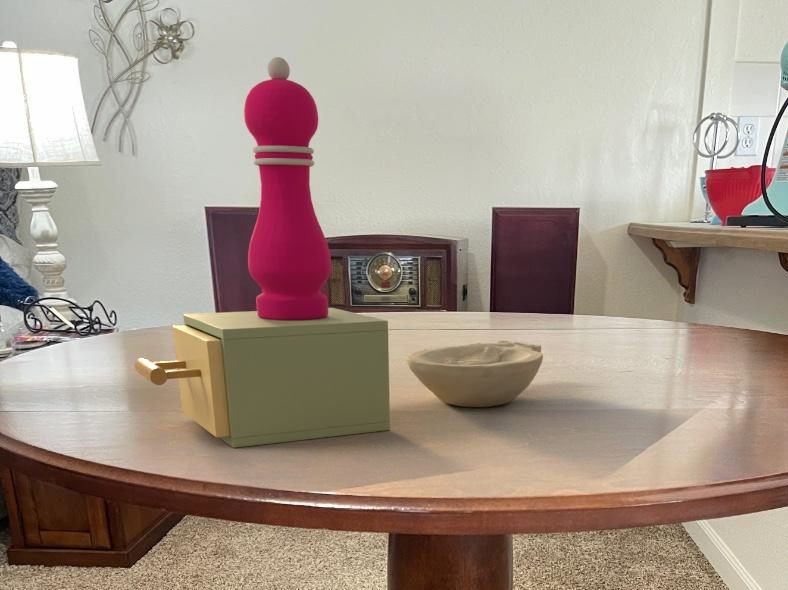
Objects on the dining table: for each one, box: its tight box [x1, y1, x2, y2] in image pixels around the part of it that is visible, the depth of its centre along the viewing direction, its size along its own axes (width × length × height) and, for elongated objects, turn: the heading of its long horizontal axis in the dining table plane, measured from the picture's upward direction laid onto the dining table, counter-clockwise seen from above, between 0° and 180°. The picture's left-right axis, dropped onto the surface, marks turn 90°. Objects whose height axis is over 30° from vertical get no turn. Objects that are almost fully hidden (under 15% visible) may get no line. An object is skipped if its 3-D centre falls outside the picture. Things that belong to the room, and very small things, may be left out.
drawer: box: [134, 324, 230, 438], centre depth 79 cm, size 18×11×8 cm, turn 119°
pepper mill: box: [243, 56, 333, 320], centre depth 75 cm, size 7×7×20 cm
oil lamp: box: [405, 340, 544, 408], centre depth 96 cm, size 21×14×5 cm
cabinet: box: [182, 307, 391, 449], centre depth 81 cm, size 15×13×10 cm
